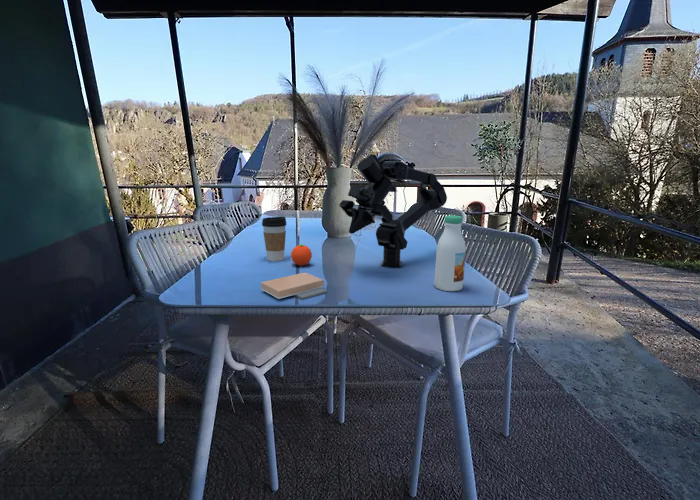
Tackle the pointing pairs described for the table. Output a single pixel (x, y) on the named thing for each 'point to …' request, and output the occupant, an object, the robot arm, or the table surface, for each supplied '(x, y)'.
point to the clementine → (301, 255)
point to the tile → (292, 285)
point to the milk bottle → (450, 256)
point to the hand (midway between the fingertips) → (350, 232)
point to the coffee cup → (274, 237)
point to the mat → (310, 293)
